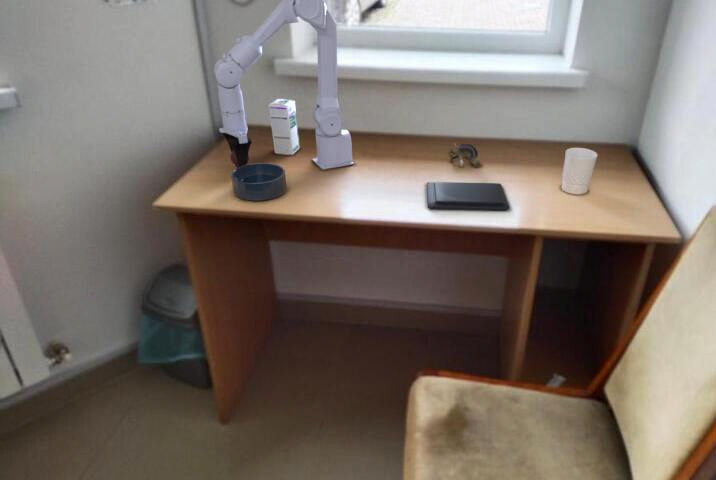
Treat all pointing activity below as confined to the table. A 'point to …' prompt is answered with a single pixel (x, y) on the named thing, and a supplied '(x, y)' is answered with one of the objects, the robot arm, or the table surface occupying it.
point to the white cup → (578, 170)
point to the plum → (234, 159)
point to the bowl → (258, 181)
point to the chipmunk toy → (465, 154)
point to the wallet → (466, 196)
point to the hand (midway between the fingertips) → (240, 161)
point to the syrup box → (284, 126)
